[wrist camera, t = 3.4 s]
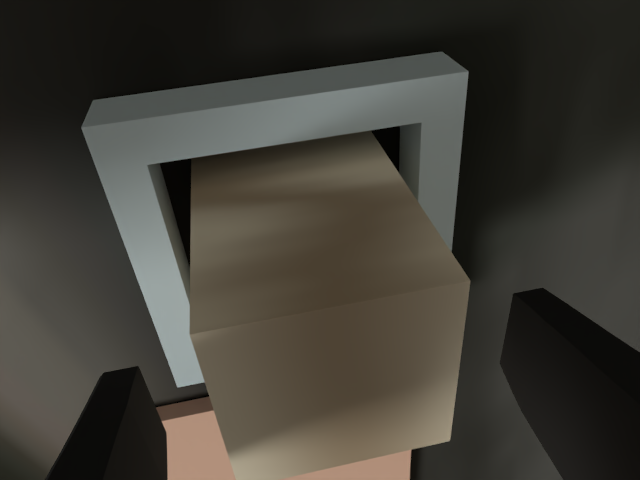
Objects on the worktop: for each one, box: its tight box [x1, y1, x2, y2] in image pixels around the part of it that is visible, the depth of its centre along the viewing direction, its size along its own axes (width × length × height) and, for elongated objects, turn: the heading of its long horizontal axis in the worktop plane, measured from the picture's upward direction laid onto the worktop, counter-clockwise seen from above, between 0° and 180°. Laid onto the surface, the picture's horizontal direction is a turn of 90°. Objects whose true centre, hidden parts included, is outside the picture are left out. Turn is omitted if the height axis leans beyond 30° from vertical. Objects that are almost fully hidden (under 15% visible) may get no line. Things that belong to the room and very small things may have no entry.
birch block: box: [190, 131, 470, 480], centre depth 12 cm, size 4×4×6 cm
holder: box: [81, 51, 469, 387], centre depth 14 cm, size 8×8×2 cm
